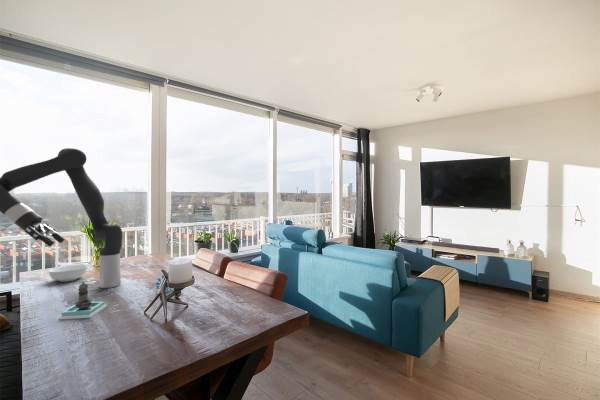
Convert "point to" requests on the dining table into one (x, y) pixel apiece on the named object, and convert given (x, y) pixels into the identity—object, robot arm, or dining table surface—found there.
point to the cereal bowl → (68, 272)
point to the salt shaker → (83, 298)
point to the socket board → (83, 311)
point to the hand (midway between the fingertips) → (57, 242)
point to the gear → (160, 283)
